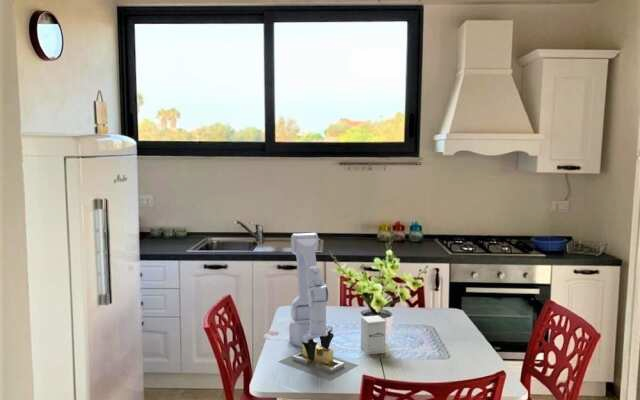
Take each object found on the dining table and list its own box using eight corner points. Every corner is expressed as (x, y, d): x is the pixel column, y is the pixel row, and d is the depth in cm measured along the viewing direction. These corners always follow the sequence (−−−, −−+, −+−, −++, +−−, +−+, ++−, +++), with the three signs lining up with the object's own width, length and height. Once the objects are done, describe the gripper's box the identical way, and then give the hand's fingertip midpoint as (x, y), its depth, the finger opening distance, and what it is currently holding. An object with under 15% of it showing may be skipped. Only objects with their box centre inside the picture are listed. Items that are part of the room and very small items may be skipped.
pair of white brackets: (292, 359, 186) (292, 355, 186) (305, 353, 192) (305, 349, 191) (331, 373, 175) (331, 369, 174) (344, 366, 180) (344, 362, 180)
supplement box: (367, 355, 191) (367, 322, 190) (360, 348, 198) (360, 316, 197) (385, 353, 193) (386, 320, 192) (378, 346, 200) (378, 314, 199)
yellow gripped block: (302, 360, 186) (302, 344, 185) (307, 357, 188) (307, 341, 187) (328, 369, 178) (328, 352, 178) (333, 366, 180) (333, 350, 180)
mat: (278, 362, 185) (278, 361, 185) (307, 349, 197) (307, 348, 197) (330, 382, 169) (330, 380, 169) (358, 366, 182) (358, 365, 182)
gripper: (313, 327, 173) (313, 365, 175) (339, 316, 184) (339, 352, 186) (297, 322, 178) (297, 360, 179) (324, 312, 189) (324, 348, 190)
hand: (317, 356), depth 183 cm, fingers open, 7 cm apart
